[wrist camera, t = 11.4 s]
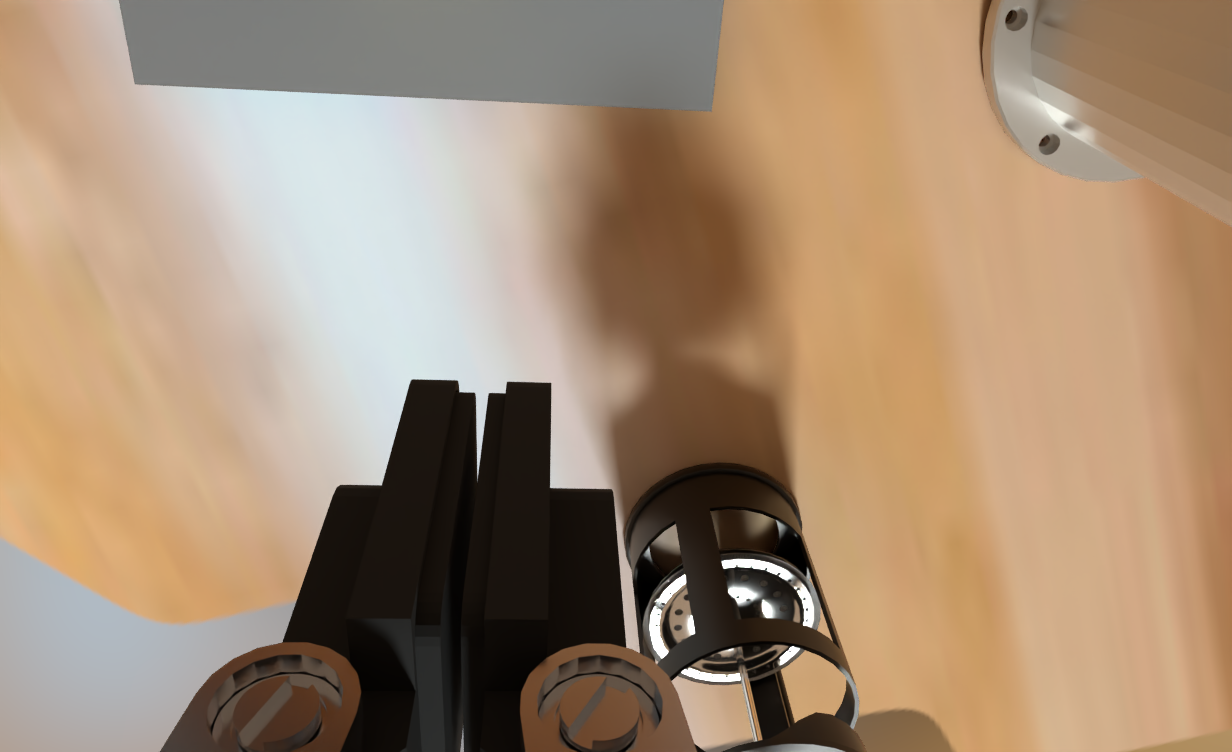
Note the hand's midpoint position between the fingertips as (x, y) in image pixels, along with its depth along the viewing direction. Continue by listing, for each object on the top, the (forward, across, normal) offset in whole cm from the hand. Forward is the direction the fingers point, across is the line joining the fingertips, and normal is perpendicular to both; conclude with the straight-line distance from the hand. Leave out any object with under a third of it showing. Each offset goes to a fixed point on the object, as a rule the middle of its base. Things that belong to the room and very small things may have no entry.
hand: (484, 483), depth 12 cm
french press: (+29, -10, +25) cm, 40 cm away
